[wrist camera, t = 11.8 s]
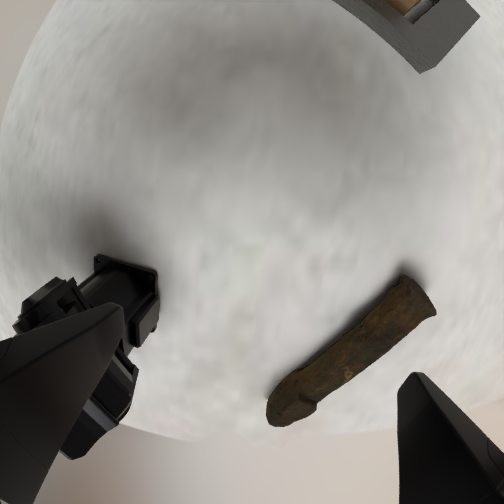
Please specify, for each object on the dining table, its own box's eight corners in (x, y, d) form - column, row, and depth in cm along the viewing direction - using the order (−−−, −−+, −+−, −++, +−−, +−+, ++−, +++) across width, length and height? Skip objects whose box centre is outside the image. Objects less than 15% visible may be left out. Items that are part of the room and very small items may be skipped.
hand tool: (401, 263, 19) (424, 292, 15) (425, 291, 20) (447, 322, 16) (248, 386, 26) (241, 421, 22) (277, 402, 27) (273, 436, 22)
